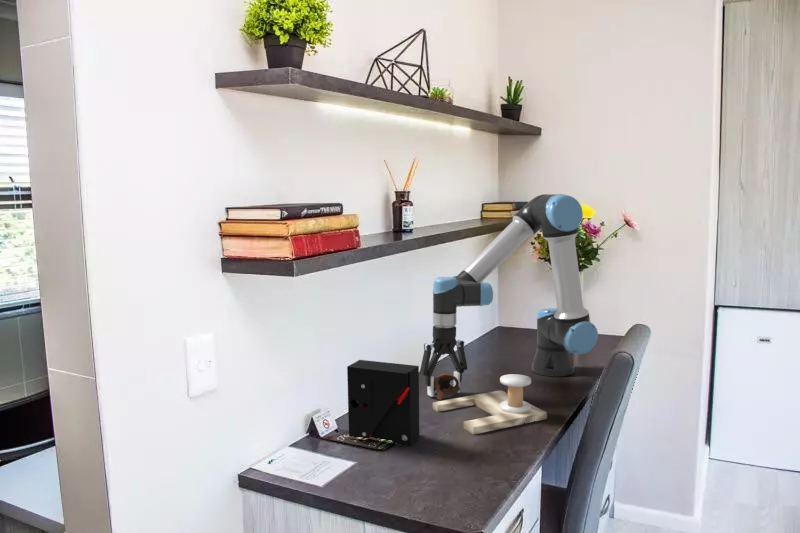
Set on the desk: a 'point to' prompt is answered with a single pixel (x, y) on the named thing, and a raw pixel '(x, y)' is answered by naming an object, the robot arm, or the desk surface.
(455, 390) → the pottery mug
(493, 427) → the notched board
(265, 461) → the desk surface
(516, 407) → the spool
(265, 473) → the desk surface
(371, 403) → the electrical component
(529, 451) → the desk surface
